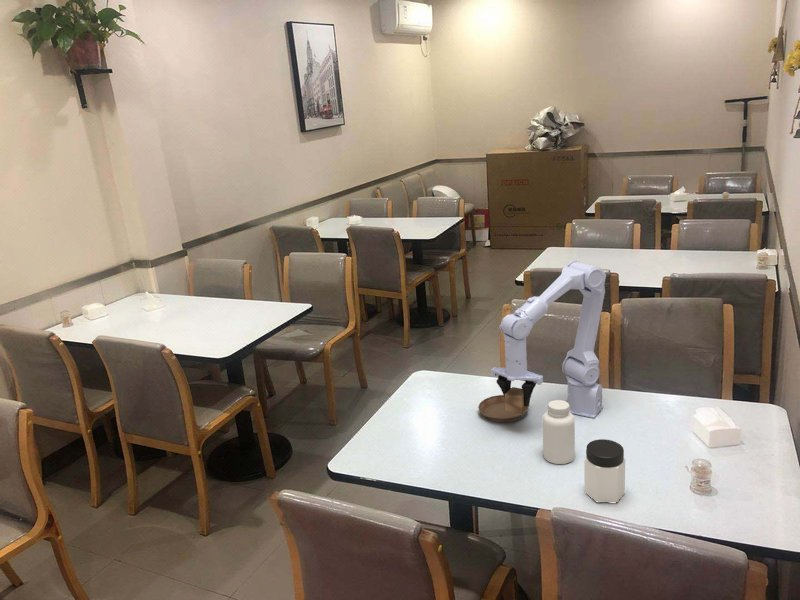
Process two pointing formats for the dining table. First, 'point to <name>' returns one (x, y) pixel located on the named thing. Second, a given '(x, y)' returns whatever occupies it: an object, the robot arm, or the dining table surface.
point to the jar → (604, 471)
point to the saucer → (497, 410)
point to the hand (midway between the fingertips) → (517, 402)
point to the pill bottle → (558, 433)
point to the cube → (515, 401)
